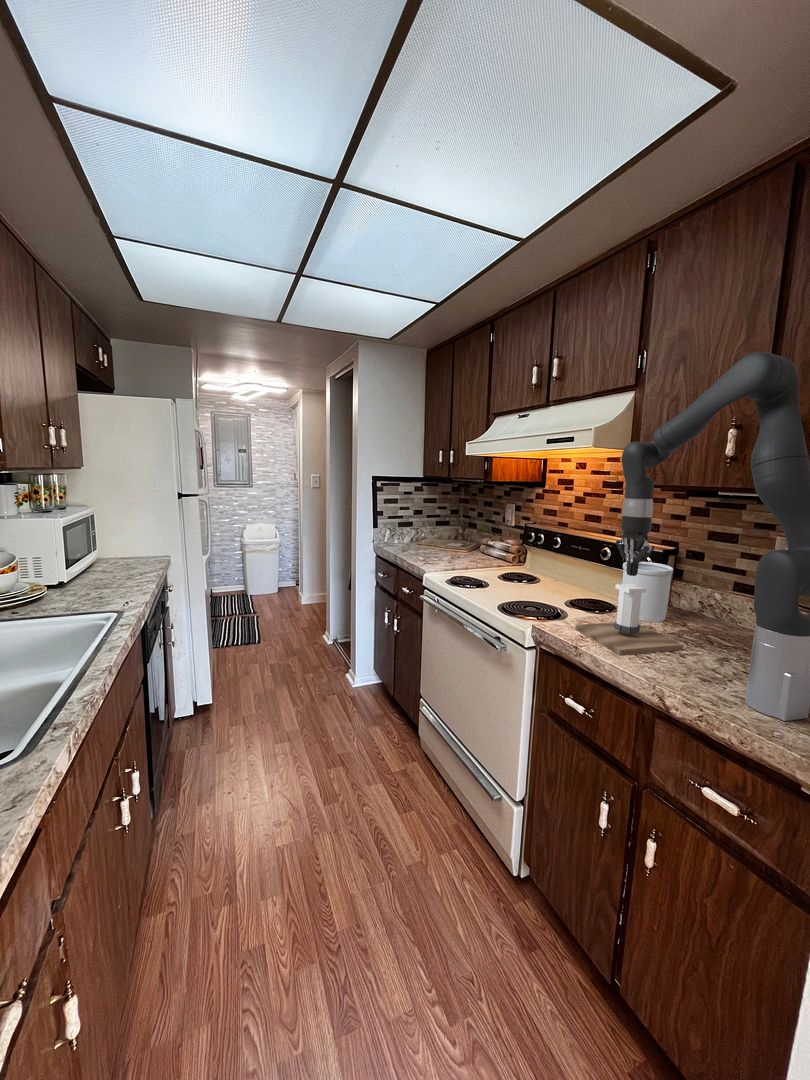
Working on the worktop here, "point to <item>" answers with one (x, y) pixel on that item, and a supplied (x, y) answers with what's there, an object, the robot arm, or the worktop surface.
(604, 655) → the worktop surface
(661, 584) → the utensil holder
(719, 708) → the worktop surface
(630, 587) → the sleeve
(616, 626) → the o ring
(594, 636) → the pipe stand
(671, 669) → the worktop surface
